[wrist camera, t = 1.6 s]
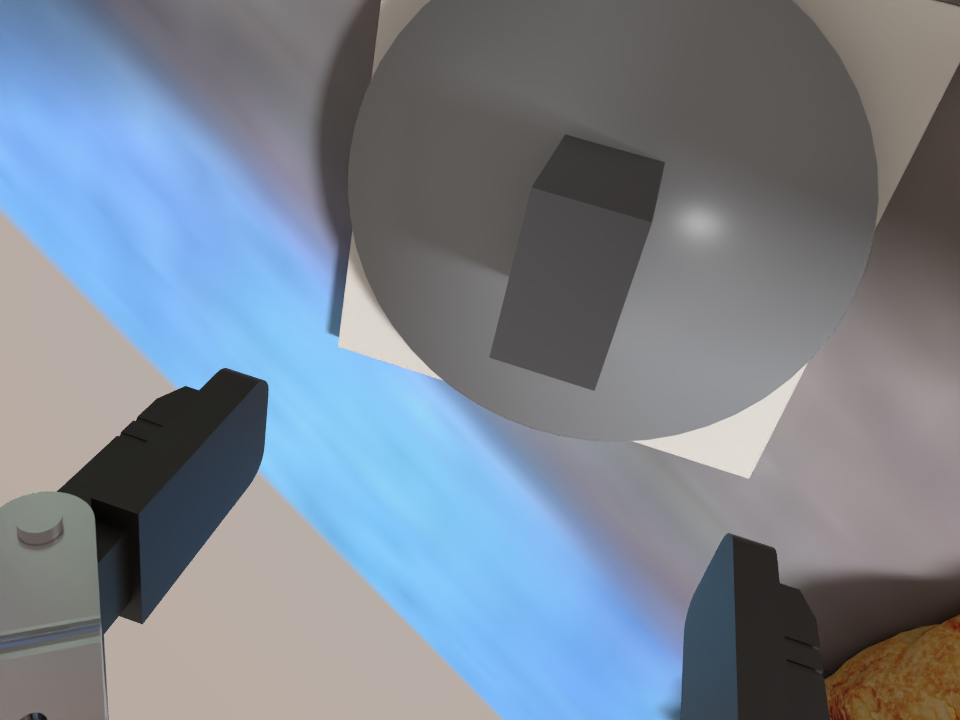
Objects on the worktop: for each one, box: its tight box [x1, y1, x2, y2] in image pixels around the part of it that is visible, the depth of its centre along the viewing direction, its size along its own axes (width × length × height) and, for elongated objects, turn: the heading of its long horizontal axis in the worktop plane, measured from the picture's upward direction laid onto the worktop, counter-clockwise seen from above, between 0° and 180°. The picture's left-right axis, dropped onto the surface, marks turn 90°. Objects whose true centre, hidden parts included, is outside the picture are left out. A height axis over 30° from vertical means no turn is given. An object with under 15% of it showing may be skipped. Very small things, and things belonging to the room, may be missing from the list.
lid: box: [348, 0, 879, 442], centre depth 23 cm, size 16×16×6 cm
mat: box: [338, 0, 960, 479], centre depth 26 cm, size 16×16×1 cm
